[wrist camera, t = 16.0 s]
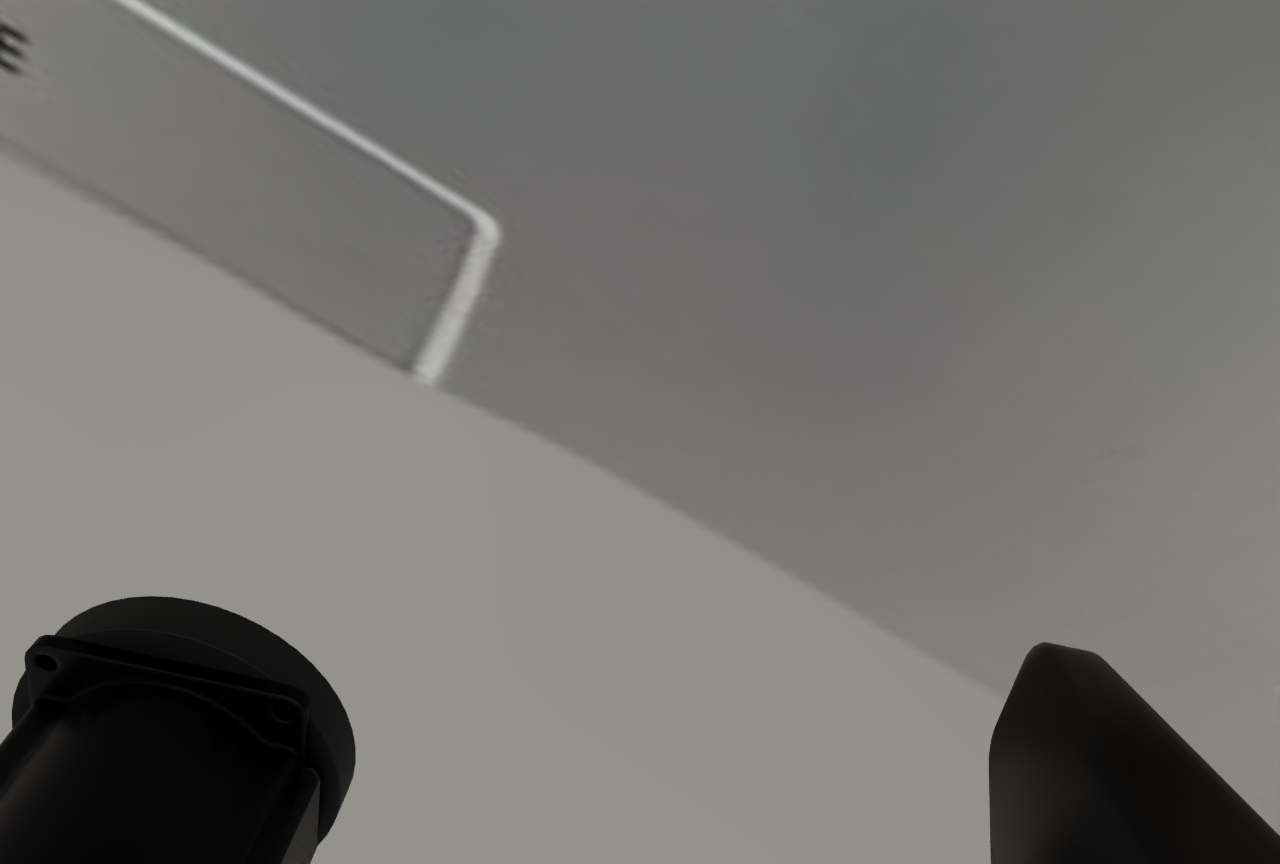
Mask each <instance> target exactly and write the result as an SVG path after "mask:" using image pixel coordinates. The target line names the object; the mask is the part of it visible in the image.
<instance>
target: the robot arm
mask: <svg viewBox="0 0 1280 864" xmlns="http://www.w3.org/2000/svg"><path fill="white" fill-rule="evenodd" d="M49 656H50V657H52V658H53V659H52V658H50V657H49ZM25 666H26V675H27V684H28V693H29V702H30V708H29V709H28V710H27V712H26V713H25V714H24V715H23V717H22V718H21V719H20V720H19V722H18V723H17V724H16V726H15V727H14V728H13V729H12V731H11V732H10V733H9V734H8V736H7V737H6V738H5V739H4V741H3V742H2V743H1V745H0V864H310V862H311V860H312V858H313V855H314V853H315V851H316V848H317V835H318V816H319V797H320V778H319V776H318V774H317V772H316V771H315V769H313V768H309V755H310V734H311V712H312V704H311V700H310V698H309V697H308V695H307V694H306V693H305V692H304V691H303V690H301V689H300V688H298V687H295V686H292V685H289V684H284V683H279V682H274V681H270V680H265V679H260V678H255V677H251V676H246V675H241V674H236V673H232V672H227V671H222V670H217V669H213V668H208V667H203V666H198V665H194V664H189V663H184V662H179V661H175V660H170V659H165V658H160V657H156V656H151V655H146V654H141V653H137V652H132V651H127V650H122V649H118V648H113V647H108V646H103V645H99V644H94V643H89V642H84V641H80V640H75V639H70V638H65V637H61V636H56V635H43V636H40V637H39V638H38V639H37V640H36V641H35V642H34V644H33V645H32V646H31V647H30V648H29V649H28V651H27V652H26V654H25ZM283 705H286V706H288V707H290V708H291V709H292V710H290V709H287V708H285V707H284V706H283ZM989 794H990V795H989V796H990V844H991V864H1280V836H1279V835H1278V834H1277V833H1276V832H1275V831H1274V830H1273V829H1272V828H1271V827H1270V826H1269V825H1268V824H1267V823H1266V822H1265V821H1264V820H1263V819H1262V818H1261V817H1260V816H1259V815H1258V814H1257V813H1256V812H1255V811H1254V810H1253V809H1252V808H1251V807H1250V806H1249V805H1248V804H1247V803H1246V802H1245V801H1244V800H1243V799H1242V798H1241V797H1240V796H1239V795H1238V794H1237V793H1236V792H1235V791H1234V790H1233V789H1232V788H1231V787H1230V786H1229V785H1228V784H1227V783H1226V782H1225V781H1224V779H1223V778H1222V777H1221V776H1220V775H1219V774H1218V773H1217V772H1216V771H1215V770H1214V769H1213V768H1212V767H1211V766H1210V765H1209V764H1208V763H1207V762H1206V761H1205V760H1204V759H1203V758H1202V757H1201V756H1200V755H1199V754H1198V753H1197V752H1196V751H1195V750H1194V749H1193V748H1192V747H1191V746H1190V745H1189V744H1188V743H1187V742H1186V741H1185V740H1184V739H1183V738H1182V737H1181V736H1180V735H1179V734H1178V733H1177V732H1176V731H1175V730H1174V729H1173V728H1172V727H1171V726H1170V725H1169V724H1168V723H1167V722H1166V721H1165V720H1164V719H1163V718H1162V717H1161V716H1160V715H1159V714H1158V713H1157V712H1156V711H1155V710H1154V709H1153V708H1152V707H1151V706H1150V705H1149V704H1148V703H1147V702H1146V701H1145V700H1144V699H1143V698H1142V697H1141V696H1140V695H1139V694H1138V693H1137V692H1136V691H1135V690H1134V689H1133V688H1132V687H1131V686H1130V685H1129V684H1128V683H1127V682H1126V681H1125V680H1124V679H1123V678H1122V677H1121V676H1120V675H1119V674H1118V673H1117V672H1116V671H1115V670H1114V669H1113V668H1112V667H1111V666H1110V665H1109V664H1108V663H1107V662H1106V661H1105V660H1104V659H1102V658H1101V657H1100V656H1099V655H1097V654H1095V653H1093V652H1090V651H1086V650H1081V649H1076V648H1071V647H1066V646H1061V645H1057V644H1052V643H1047V642H1043V643H1040V644H1038V645H1036V646H1034V647H1033V648H1032V649H1031V650H1030V652H1029V653H1028V654H1027V656H1026V658H1025V660H1024V662H1023V664H1022V666H1021V669H1020V671H1019V673H1018V675H1017V678H1016V680H1015V682H1014V685H1013V687H1012V689H1011V692H1010V694H1009V696H1008V698H1007V701H1006V703H1005V705H1004V708H1003V710H1002V712H1001V714H1000V717H999V719H998V721H997V724H996V726H995V729H994V732H993V736H992V739H991V745H990V752H989Z"/></svg>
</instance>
